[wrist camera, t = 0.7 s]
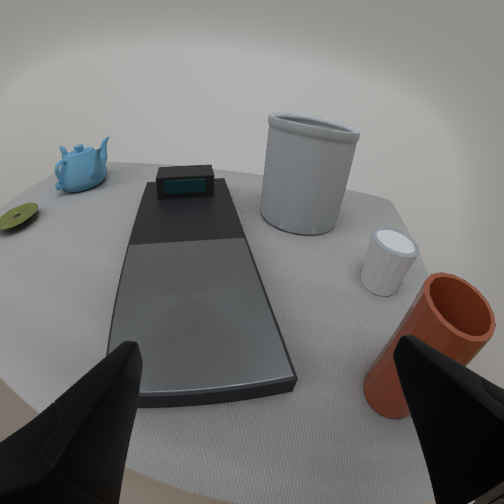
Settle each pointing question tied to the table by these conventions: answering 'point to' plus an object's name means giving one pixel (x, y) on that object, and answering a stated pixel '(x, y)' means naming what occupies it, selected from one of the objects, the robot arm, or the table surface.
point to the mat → (17, 215)
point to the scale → (196, 299)
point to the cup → (432, 336)
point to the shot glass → (387, 260)
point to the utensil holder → (306, 172)
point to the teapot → (81, 168)
